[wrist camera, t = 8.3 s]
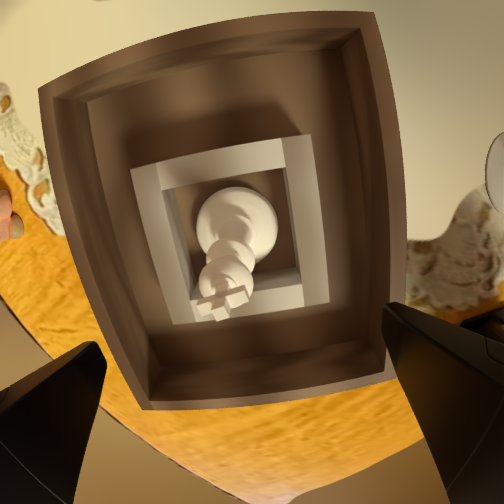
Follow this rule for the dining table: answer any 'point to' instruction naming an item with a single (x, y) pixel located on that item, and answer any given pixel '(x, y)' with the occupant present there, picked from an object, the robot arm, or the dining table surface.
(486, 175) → the wineglass
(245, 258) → the chess piece
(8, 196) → the grandmother figurine
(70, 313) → the dining table surface
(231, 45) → the walnut box
